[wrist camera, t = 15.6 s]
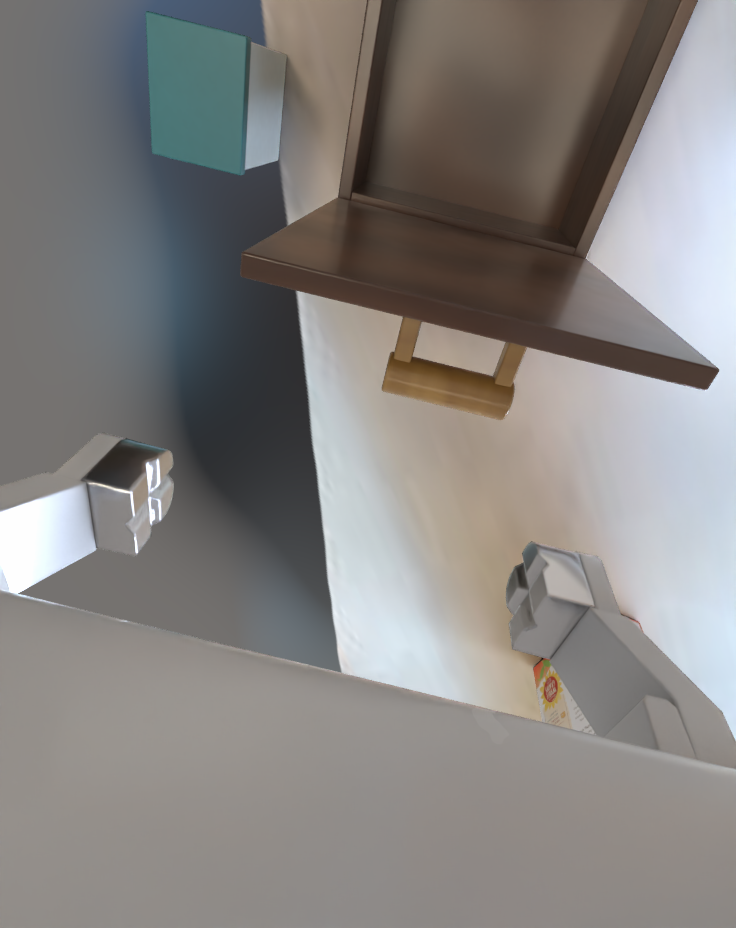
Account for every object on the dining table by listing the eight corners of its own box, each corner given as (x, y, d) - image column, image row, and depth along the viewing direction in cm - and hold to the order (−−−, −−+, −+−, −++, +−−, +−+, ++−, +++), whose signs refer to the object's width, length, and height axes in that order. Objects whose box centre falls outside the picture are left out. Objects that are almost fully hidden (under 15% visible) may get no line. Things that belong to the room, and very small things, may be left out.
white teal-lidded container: (209, 32, 32) (144, 10, 25) (289, 52, 32) (246, 36, 25) (208, 145, 36) (151, 153, 29) (280, 163, 36) (240, 175, 29)
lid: (240, 251, 16) (232, 383, 18) (721, 369, 16) (647, 484, 18) (336, 197, 30) (324, 274, 33) (587, 259, 30) (556, 331, 33)
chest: (410, -157, 27) (400, -228, 21) (693, -84, 27) (757, -135, 21) (353, 189, 36) (336, 203, 31) (562, 241, 36) (583, 264, 31)
